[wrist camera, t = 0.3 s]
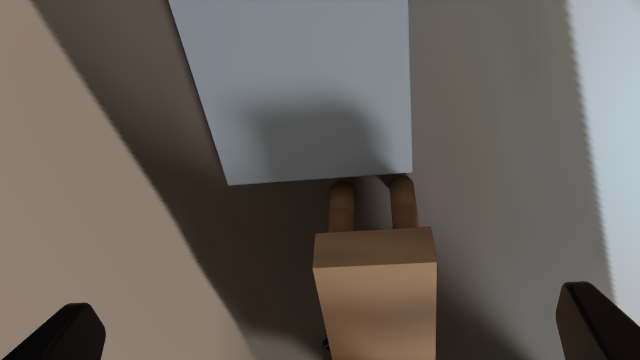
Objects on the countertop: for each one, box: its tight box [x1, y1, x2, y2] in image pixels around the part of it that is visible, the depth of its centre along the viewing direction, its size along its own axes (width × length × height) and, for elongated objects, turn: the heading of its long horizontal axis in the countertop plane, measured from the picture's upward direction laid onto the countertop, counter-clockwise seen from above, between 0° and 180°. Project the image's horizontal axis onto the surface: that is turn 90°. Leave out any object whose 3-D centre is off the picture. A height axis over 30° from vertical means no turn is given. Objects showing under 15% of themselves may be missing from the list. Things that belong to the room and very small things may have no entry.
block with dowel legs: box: [313, 177, 437, 360], centre depth 25 cm, size 8×5×6 cm, turn 8°
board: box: [168, 0, 412, 185], centre depth 21 cm, size 11×9×1 cm
